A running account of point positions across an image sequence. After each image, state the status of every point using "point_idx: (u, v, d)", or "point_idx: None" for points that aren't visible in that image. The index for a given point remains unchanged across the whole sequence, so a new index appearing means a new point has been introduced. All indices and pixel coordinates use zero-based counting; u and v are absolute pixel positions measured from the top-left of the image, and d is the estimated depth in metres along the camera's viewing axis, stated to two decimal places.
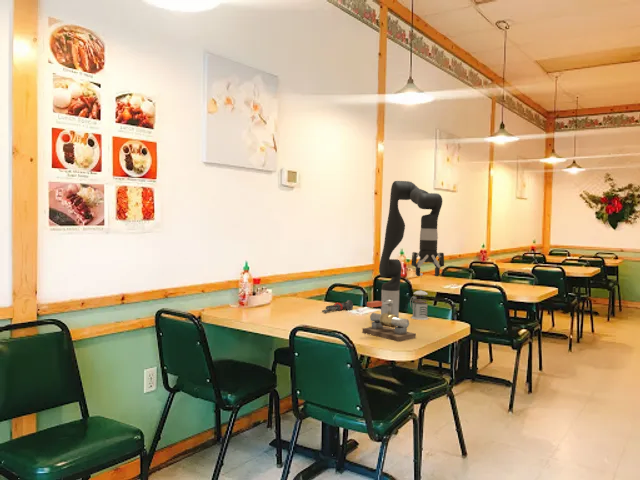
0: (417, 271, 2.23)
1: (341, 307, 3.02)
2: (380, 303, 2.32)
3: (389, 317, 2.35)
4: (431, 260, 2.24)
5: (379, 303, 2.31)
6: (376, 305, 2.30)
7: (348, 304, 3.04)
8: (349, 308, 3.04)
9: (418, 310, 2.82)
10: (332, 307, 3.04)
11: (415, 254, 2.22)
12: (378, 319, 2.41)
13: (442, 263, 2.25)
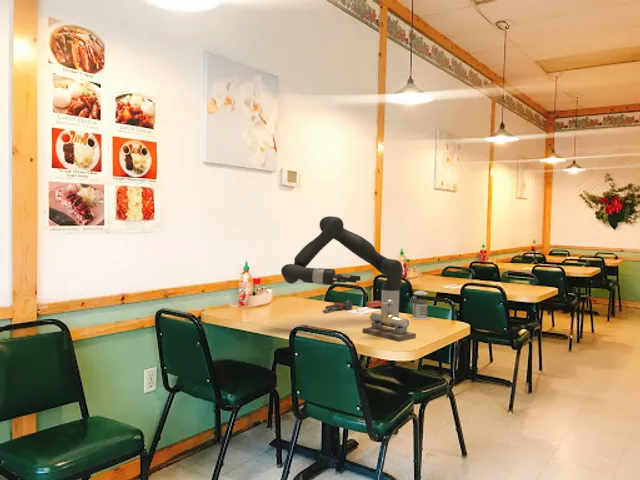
0: None
1: (341, 307, 3.03)
2: (380, 303, 2.32)
3: (389, 317, 2.35)
4: (342, 280, 2.34)
5: (379, 303, 2.31)
6: (376, 305, 2.30)
7: (348, 303, 3.05)
8: (349, 308, 3.05)
9: (418, 310, 2.82)
10: (332, 307, 3.05)
11: None
12: (378, 319, 2.41)
13: None
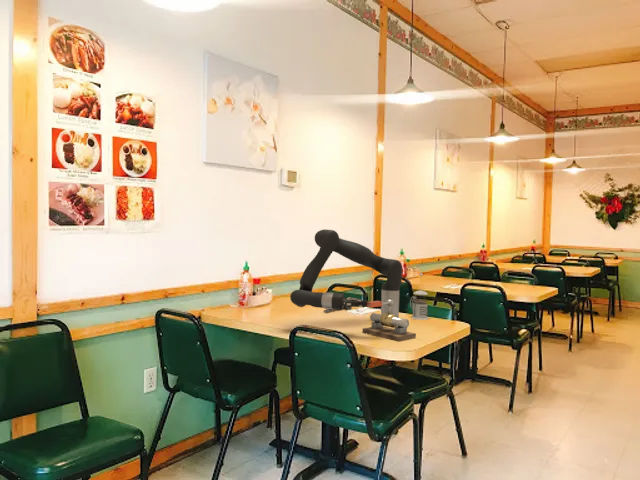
0: None
1: None
2: (380, 303, 2.32)
3: (389, 317, 2.35)
4: None
5: (379, 303, 2.31)
6: (376, 305, 2.30)
7: None
8: (348, 307, 3.06)
9: (418, 310, 2.82)
10: None
11: None
12: (378, 319, 2.41)
13: None
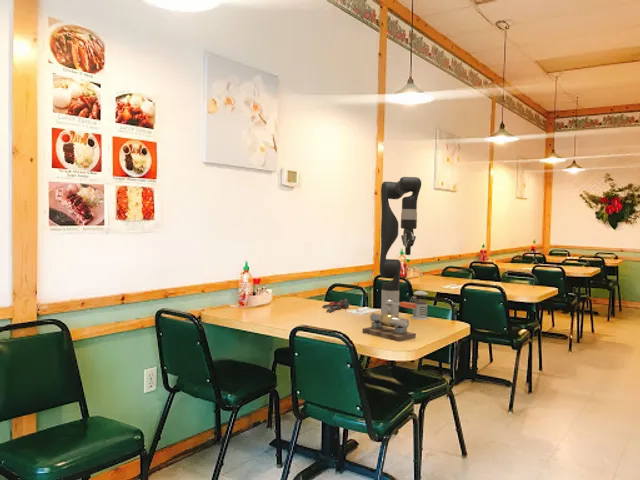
0: None
1: (340, 306, 3.07)
2: None
3: (389, 317, 2.35)
4: None
5: None
6: None
7: (346, 302, 3.10)
8: (347, 306, 3.10)
9: (418, 310, 2.82)
10: (331, 306, 3.07)
11: (401, 236, 2.52)
12: (378, 319, 2.41)
13: (407, 243, 2.44)
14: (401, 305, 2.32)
